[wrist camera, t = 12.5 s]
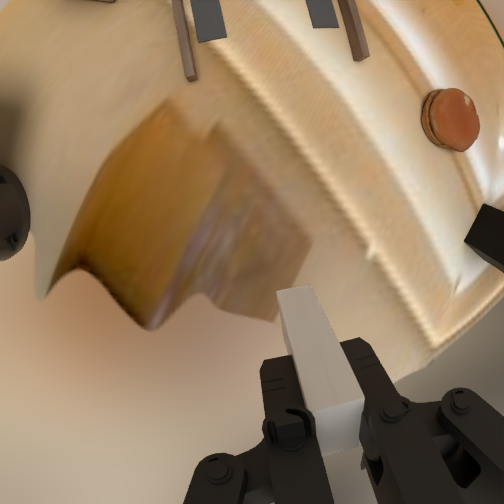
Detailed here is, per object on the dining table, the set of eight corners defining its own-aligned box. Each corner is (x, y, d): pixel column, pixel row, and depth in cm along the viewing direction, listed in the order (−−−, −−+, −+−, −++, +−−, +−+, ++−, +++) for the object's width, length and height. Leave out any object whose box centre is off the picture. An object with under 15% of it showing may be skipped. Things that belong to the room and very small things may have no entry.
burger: (418, 144, 36) (437, 146, 32) (419, 82, 33) (437, 79, 29) (465, 153, 37) (484, 157, 33) (466, 97, 34) (485, 97, 29)
